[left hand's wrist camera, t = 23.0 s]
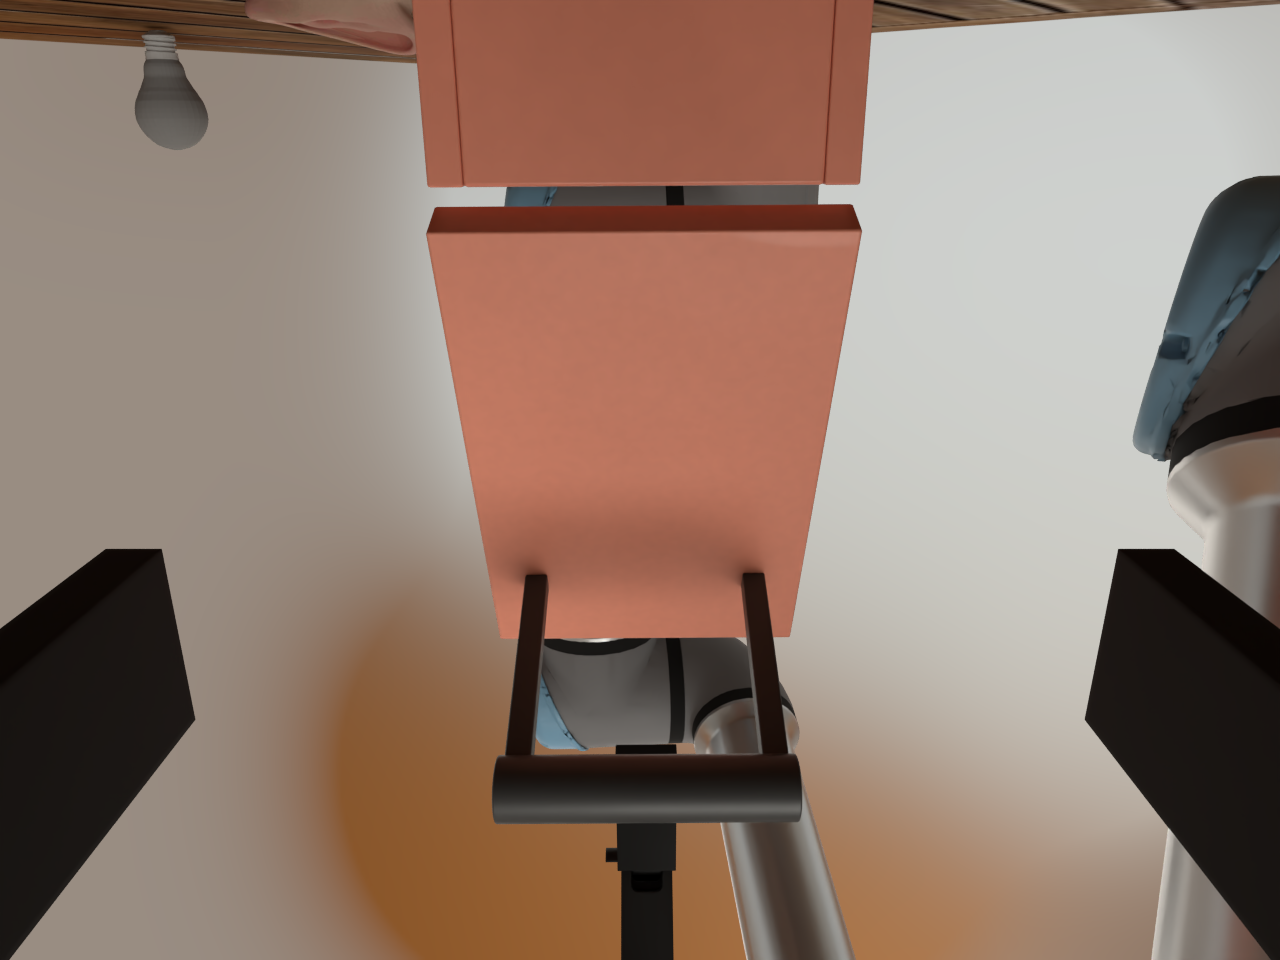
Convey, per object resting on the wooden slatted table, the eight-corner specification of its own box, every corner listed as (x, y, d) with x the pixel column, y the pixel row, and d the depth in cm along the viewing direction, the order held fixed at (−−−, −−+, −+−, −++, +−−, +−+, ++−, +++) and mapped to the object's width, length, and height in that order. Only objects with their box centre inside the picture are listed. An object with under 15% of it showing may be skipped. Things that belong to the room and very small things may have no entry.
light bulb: (179, 26, 79) (200, 150, 82) (203, 33, 84) (222, 148, 88) (107, 26, 78) (130, 150, 82) (136, 33, 84) (157, 149, 87)
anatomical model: (240, 32, 46) (468, 39, 50) (227, -59, 44) (463, -45, 48) (241, 52, 57) (426, 57, 61) (231, -19, 56) (421, -10, 60)
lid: (785, 607, 32) (824, 870, 25) (504, 609, 32) (469, 872, 25) (852, 202, 21) (950, 469, 15) (434, 205, 21) (344, 473, 15)
